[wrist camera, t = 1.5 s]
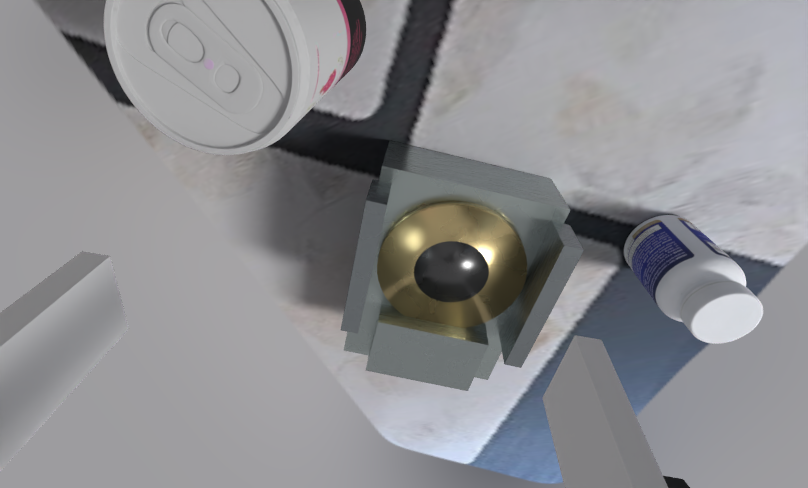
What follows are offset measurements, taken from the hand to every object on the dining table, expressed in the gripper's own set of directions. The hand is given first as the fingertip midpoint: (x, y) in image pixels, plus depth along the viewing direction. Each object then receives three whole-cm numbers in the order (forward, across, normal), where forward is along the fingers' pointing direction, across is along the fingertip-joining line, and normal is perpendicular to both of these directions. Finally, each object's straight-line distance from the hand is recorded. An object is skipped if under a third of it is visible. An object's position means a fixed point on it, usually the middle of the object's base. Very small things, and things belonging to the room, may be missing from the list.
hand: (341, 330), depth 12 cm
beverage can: (+20, -6, +5) cm, 22 cm away
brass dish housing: (+20, +5, -9) cm, 23 cm away
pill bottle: (+20, +21, -5) cm, 30 cm away
